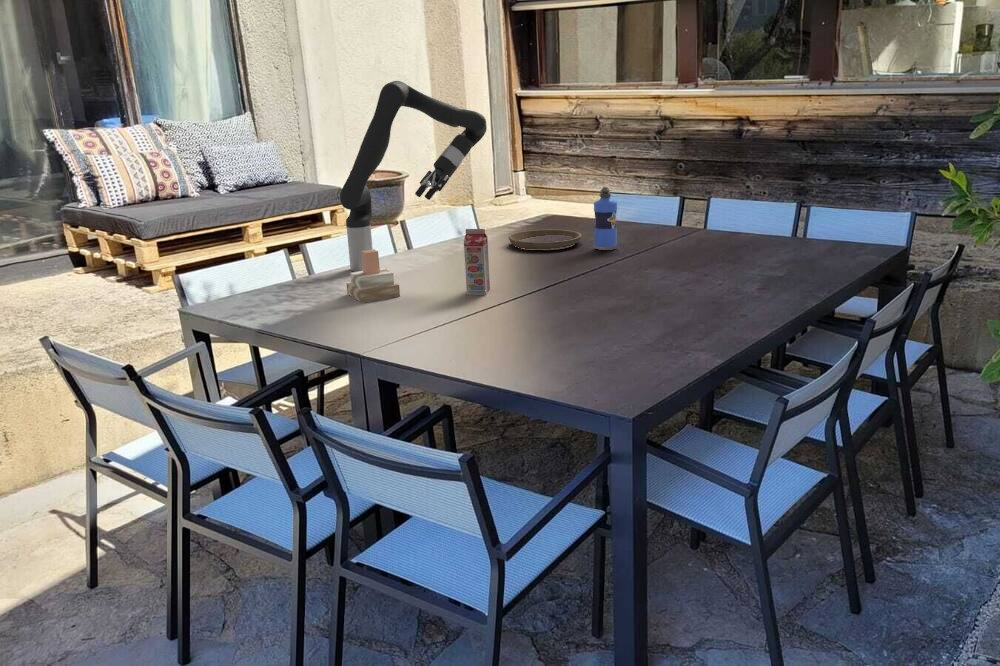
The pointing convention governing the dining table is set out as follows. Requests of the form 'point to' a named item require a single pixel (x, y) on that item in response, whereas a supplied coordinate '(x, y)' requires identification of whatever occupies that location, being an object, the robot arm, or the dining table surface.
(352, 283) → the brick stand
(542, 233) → the plant saucer
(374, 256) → the terracotta brick
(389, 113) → the robot arm
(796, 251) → the dining table surface
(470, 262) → the juice carton
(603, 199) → the water bottle
